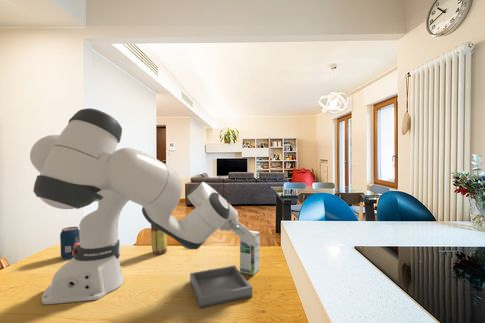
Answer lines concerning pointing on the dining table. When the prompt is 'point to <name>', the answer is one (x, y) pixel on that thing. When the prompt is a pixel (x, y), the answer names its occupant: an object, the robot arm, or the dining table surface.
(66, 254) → the soda can
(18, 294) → the dining table surface
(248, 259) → the syrup box
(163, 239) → the sauce bottle
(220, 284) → the tray
